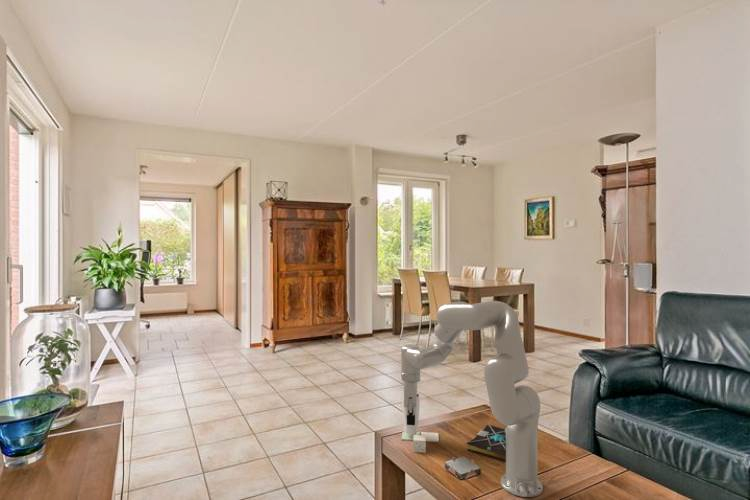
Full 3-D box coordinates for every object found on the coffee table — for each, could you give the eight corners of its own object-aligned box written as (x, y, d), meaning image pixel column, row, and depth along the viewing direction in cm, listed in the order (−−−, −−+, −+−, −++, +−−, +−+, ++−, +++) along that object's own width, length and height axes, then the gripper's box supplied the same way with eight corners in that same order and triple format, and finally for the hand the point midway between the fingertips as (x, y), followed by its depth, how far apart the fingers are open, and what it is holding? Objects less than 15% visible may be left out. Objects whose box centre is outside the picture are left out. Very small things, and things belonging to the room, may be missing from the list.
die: (425, 453, 159) (425, 440, 159) (413, 452, 159) (413, 440, 159) (425, 447, 163) (425, 435, 163) (413, 446, 164) (413, 434, 164)
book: (510, 465, 150) (510, 451, 150) (465, 452, 160) (465, 438, 160) (529, 442, 168) (529, 429, 168) (487, 431, 178) (487, 419, 178)
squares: (438, 441, 167) (438, 440, 167) (401, 439, 169) (401, 438, 169) (438, 433, 174) (438, 432, 174) (402, 432, 176) (402, 431, 176)
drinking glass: (401, 434, 170) (400, 397, 170) (404, 427, 176) (404, 391, 176) (417, 436, 168) (417, 398, 168) (421, 429, 174) (420, 392, 174)
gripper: (402, 370, 181) (402, 412, 181) (400, 382, 164) (400, 429, 164) (420, 370, 180) (420, 413, 180) (420, 383, 163) (420, 430, 163)
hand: (411, 420), depth 172 cm, fingers closed on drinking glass, 6 cm apart
